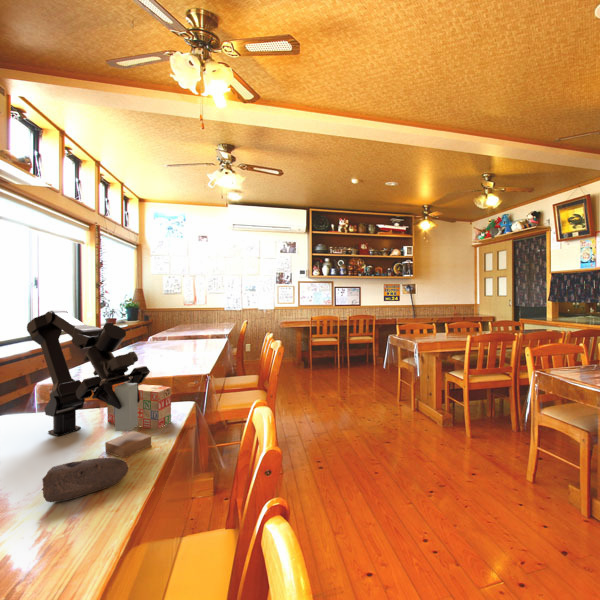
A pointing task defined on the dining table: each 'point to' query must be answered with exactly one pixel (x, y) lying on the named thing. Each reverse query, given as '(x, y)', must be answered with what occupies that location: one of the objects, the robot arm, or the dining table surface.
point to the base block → (127, 444)
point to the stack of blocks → (150, 407)
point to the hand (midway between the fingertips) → (129, 405)
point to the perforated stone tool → (82, 478)
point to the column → (126, 407)
